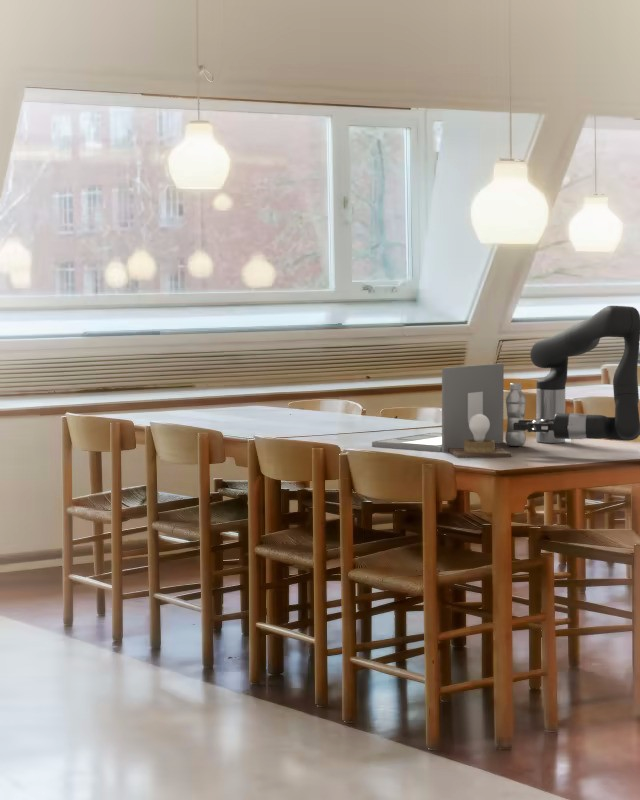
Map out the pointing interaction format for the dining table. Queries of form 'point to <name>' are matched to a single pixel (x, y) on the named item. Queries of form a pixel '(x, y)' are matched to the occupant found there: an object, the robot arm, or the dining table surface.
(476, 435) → the lightbulb
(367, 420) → the dining table surface
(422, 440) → the laptop
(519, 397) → the plastic bottle
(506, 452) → the brown board with block
